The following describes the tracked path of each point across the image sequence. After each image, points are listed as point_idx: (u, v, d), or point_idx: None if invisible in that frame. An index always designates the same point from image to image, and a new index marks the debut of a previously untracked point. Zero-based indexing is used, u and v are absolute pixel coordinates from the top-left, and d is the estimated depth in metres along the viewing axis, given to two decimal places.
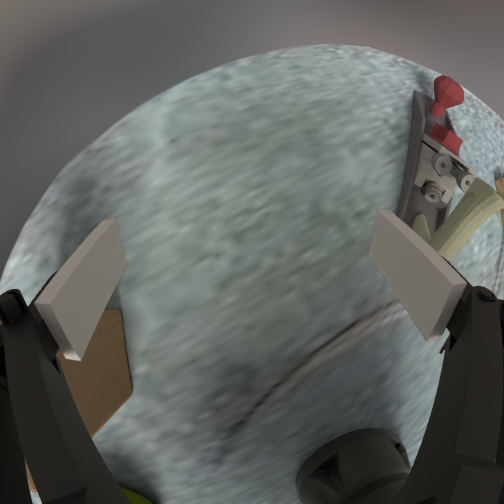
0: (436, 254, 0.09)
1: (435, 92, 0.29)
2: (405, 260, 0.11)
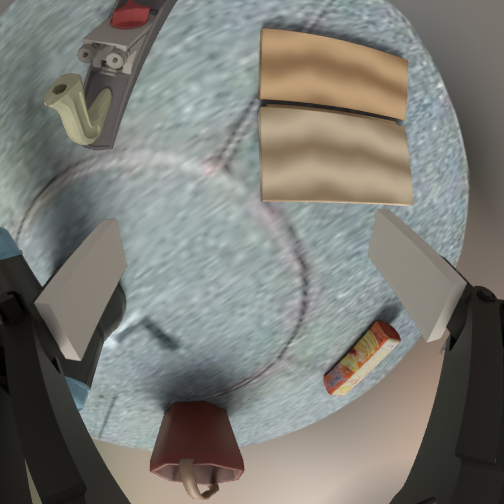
0: (436, 254, 0.09)
1: None
2: (405, 260, 0.11)
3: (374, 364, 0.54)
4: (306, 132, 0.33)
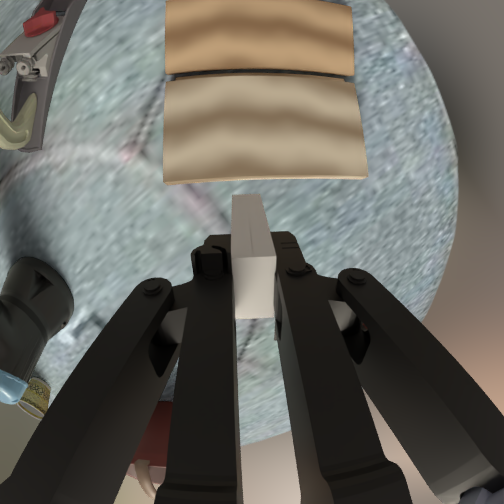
0: (266, 230, 0.11)
1: None
2: None
3: None
4: (217, 100, 0.27)
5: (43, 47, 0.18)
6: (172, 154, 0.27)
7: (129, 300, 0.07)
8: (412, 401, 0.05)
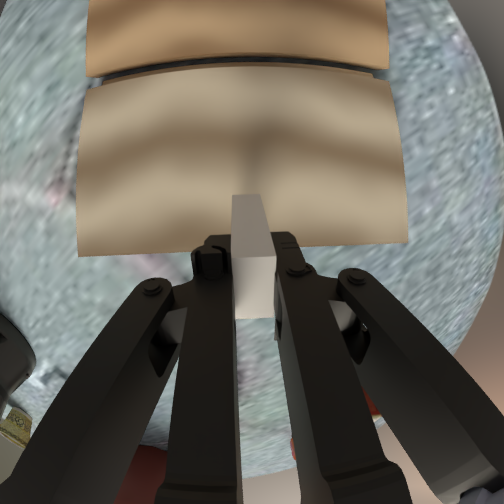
0: (266, 230, 0.11)
1: None
2: None
3: None
4: (156, 114, 0.15)
5: None
6: (88, 211, 0.16)
7: (129, 300, 0.07)
8: (412, 402, 0.05)
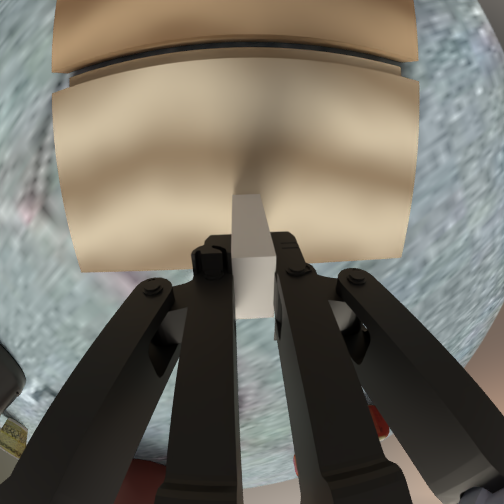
0: (266, 230, 0.11)
1: None
2: None
3: None
4: (138, 125, 0.13)
5: None
6: (82, 232, 0.15)
7: (129, 300, 0.07)
8: (412, 402, 0.05)
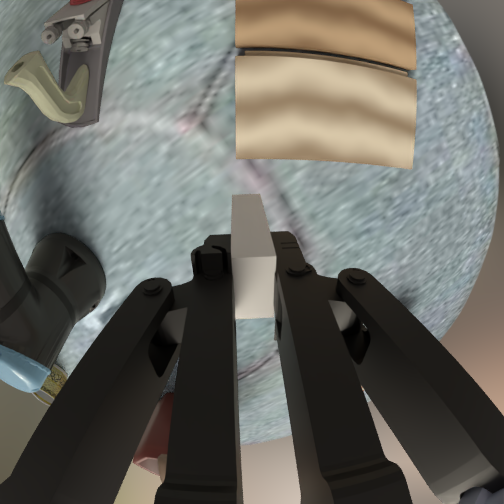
0: (266, 230, 0.11)
1: None
2: None
3: None
4: (289, 83, 0.26)
5: (96, 11, 0.18)
6: (245, 133, 0.29)
7: (129, 300, 0.07)
8: (413, 402, 0.05)
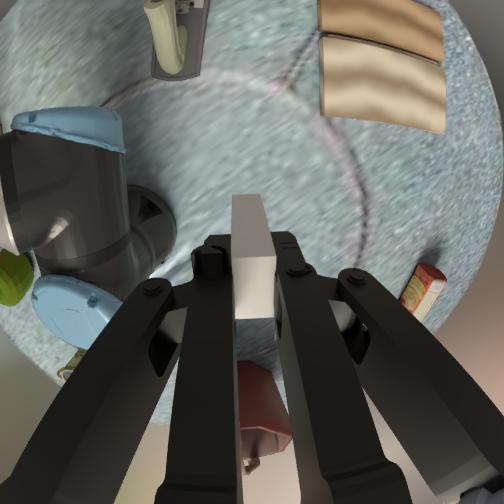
0: (266, 230, 0.11)
1: None
2: None
3: (425, 310, 0.49)
4: (361, 63, 0.30)
5: None
6: (331, 96, 0.33)
7: (129, 300, 0.07)
8: (412, 401, 0.05)
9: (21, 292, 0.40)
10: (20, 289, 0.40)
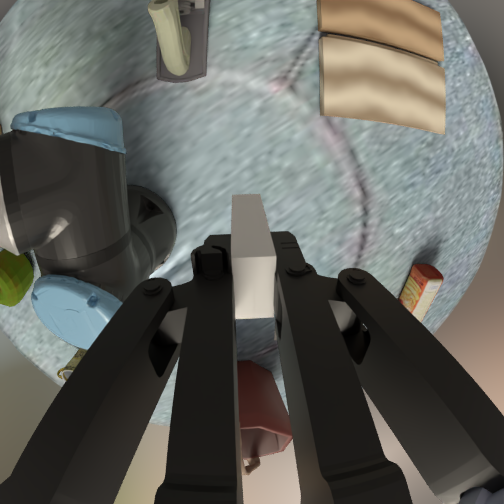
0: (266, 230, 0.11)
1: None
2: None
3: (424, 310, 0.49)
4: (361, 62, 0.30)
5: None
6: (331, 96, 0.33)
7: (129, 300, 0.07)
8: (413, 401, 0.05)
9: (21, 292, 0.40)
10: (20, 289, 0.40)
